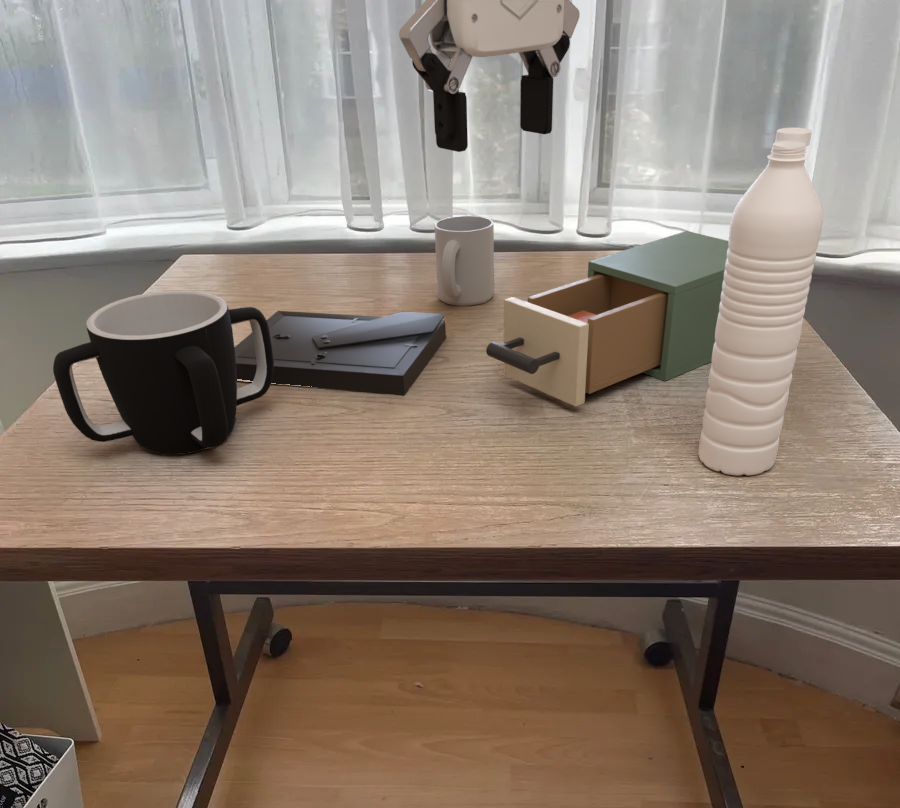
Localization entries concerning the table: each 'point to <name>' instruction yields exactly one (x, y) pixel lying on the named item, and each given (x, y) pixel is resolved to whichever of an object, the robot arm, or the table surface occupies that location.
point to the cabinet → (677, 293)
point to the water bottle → (761, 311)
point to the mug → (167, 369)
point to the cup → (465, 260)
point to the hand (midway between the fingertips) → (495, 139)
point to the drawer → (582, 336)
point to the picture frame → (347, 350)
